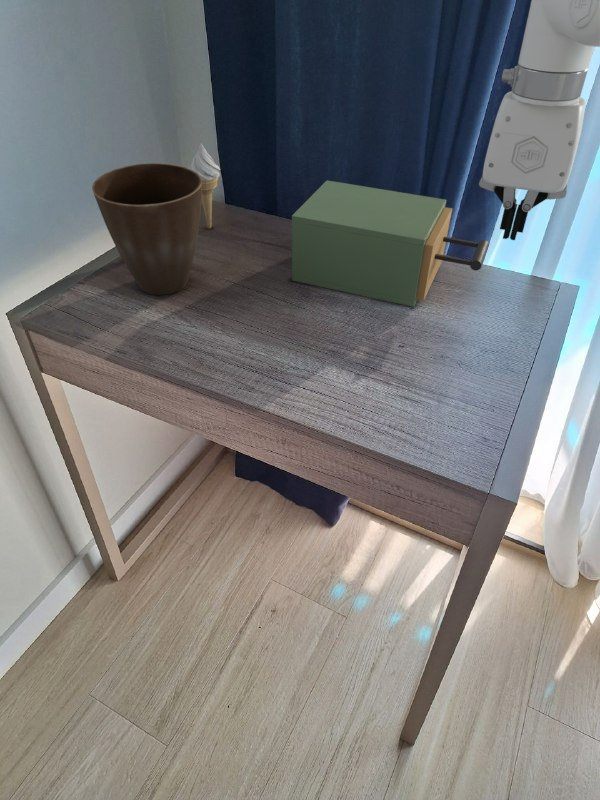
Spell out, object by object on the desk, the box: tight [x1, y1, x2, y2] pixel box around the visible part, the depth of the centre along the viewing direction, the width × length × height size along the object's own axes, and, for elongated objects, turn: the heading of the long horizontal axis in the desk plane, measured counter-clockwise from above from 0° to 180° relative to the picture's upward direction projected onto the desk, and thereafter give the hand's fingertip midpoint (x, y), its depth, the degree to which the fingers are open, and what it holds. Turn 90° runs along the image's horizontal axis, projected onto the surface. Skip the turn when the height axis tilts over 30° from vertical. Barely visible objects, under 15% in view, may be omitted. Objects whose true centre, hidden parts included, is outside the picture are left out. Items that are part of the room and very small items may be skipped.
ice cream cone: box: [188, 142, 221, 229], centre depth 101 cm, size 6×6×15 cm
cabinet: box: [291, 180, 447, 307], centre depth 91 cm, size 20×15×11 cm
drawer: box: [416, 206, 490, 302], centre depth 89 cm, size 25×14×9 cm, turn 68°
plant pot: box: [91, 162, 202, 296], centre depth 86 cm, size 15×15×16 cm
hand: (510, 235), depth 78 cm, fingers closed
